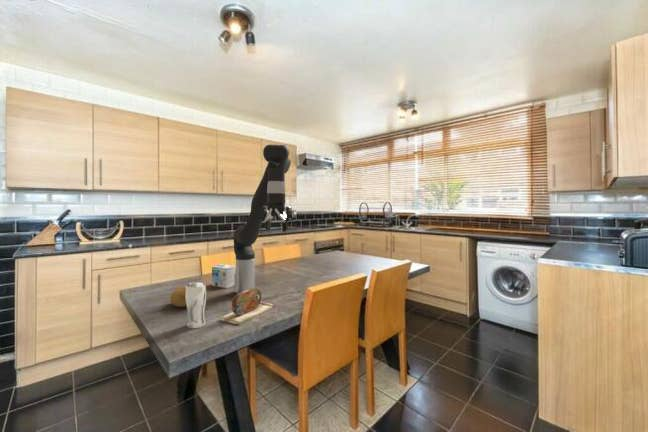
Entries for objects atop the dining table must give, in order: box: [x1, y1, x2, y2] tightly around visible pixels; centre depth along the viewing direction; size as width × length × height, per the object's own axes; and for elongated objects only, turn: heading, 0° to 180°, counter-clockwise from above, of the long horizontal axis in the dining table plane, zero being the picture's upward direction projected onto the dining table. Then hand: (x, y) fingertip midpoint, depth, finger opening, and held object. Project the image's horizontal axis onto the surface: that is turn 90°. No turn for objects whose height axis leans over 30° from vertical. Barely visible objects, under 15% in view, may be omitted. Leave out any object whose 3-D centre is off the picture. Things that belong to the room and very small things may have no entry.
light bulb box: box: [211, 263, 236, 289], centre depth 150 cm, size 11×7×11 cm, turn 67°
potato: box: [170, 285, 187, 308], centre depth 120 cm, size 10×14×8 cm
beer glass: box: [185, 281, 208, 329], centre depth 100 cm, size 7×7×15 cm
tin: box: [231, 287, 262, 315], centre depth 112 cm, size 15×3×8 cm, turn 154°
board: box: [219, 301, 273, 326], centre depth 112 cm, size 10×20×1 cm, turn 154°
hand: (276, 230), depth 116 cm, fingers open, 8 cm apart
